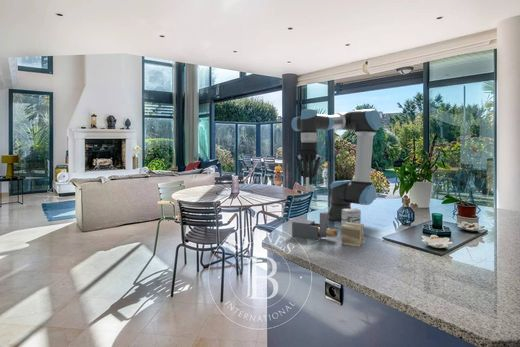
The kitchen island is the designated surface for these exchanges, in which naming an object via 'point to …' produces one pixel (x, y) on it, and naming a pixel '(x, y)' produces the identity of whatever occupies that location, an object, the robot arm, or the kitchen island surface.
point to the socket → (352, 234)
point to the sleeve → (305, 229)
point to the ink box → (350, 216)
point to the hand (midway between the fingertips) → (308, 190)
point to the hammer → (326, 226)
